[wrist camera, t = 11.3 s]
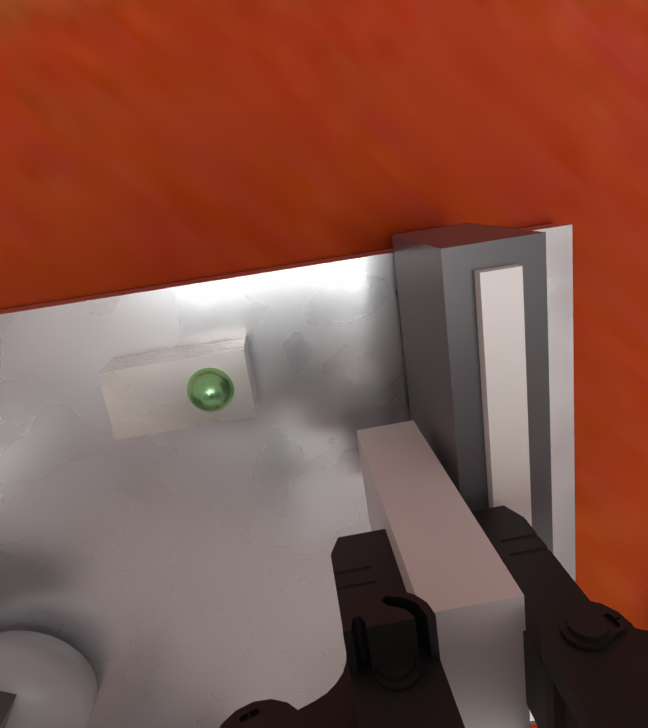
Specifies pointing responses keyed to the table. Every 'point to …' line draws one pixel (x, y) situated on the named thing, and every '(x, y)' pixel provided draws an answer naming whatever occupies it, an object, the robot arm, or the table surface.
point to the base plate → (214, 475)
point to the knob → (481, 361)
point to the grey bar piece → (44, 682)
